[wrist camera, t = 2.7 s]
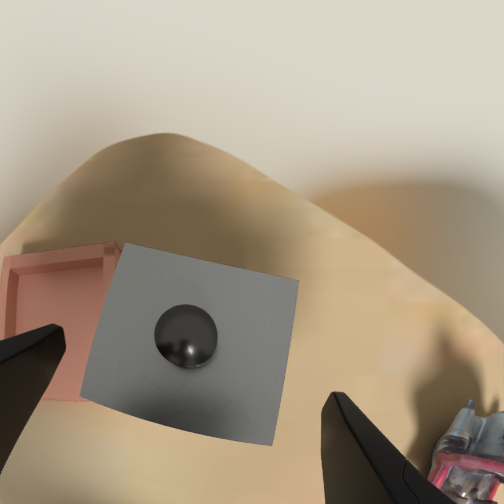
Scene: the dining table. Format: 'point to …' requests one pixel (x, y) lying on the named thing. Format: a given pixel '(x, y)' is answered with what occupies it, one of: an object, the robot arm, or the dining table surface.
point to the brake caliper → (470, 457)
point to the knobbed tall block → (193, 345)
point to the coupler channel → (59, 303)
